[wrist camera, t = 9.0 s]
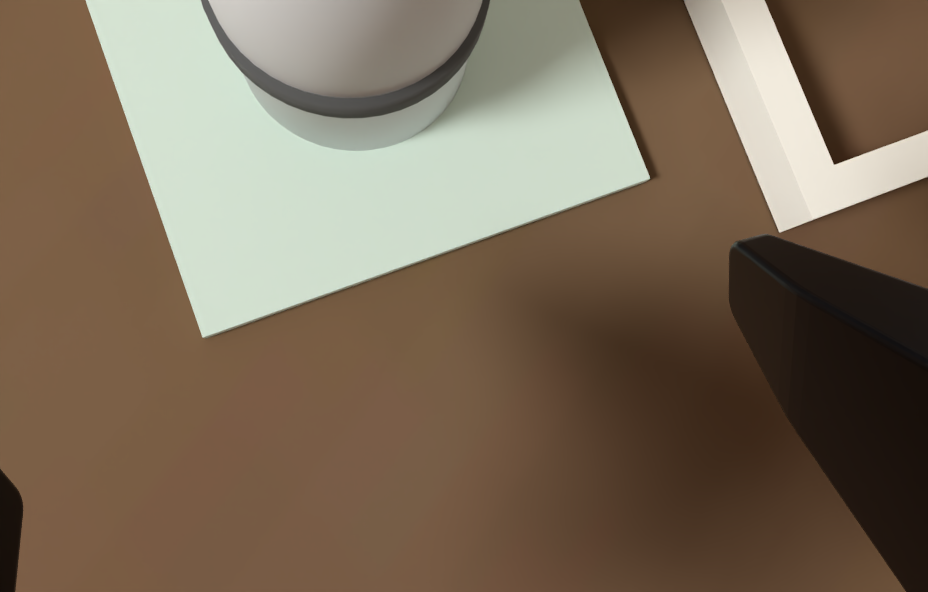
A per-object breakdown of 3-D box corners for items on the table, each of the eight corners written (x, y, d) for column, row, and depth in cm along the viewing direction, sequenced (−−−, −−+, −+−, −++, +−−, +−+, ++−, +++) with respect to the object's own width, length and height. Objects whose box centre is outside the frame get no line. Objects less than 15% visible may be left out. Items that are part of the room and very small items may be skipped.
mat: (646, 181, 19) (650, 178, 18) (206, 338, 17) (202, 337, 17) (486, -217, 19) (488, -227, 19) (54, -99, 18) (48, -108, 18)
